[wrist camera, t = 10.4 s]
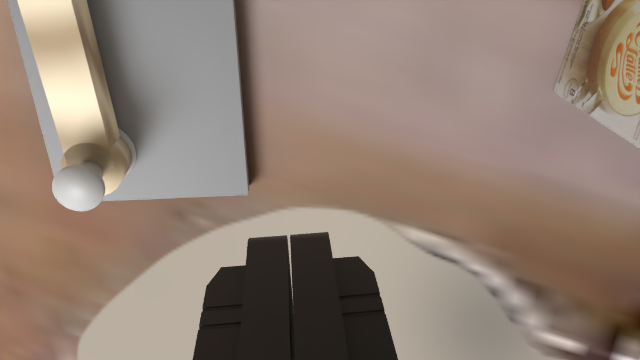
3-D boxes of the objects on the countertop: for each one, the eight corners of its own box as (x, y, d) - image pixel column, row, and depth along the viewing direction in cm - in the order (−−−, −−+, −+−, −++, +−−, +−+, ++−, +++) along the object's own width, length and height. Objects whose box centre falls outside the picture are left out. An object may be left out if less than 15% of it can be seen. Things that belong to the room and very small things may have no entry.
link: (137, 177, 38) (128, 193, 36) (81, 182, 38) (69, 198, 36) (70, -102, 30) (54, -103, 28) (-1, -97, 30) (-23, -98, 28)
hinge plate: (-27, -178, 30) (-113, -204, 23) (221, -178, 31) (206, -203, 24) (67, 193, 41) (27, 247, 34) (249, 185, 42) (244, 237, 35)
